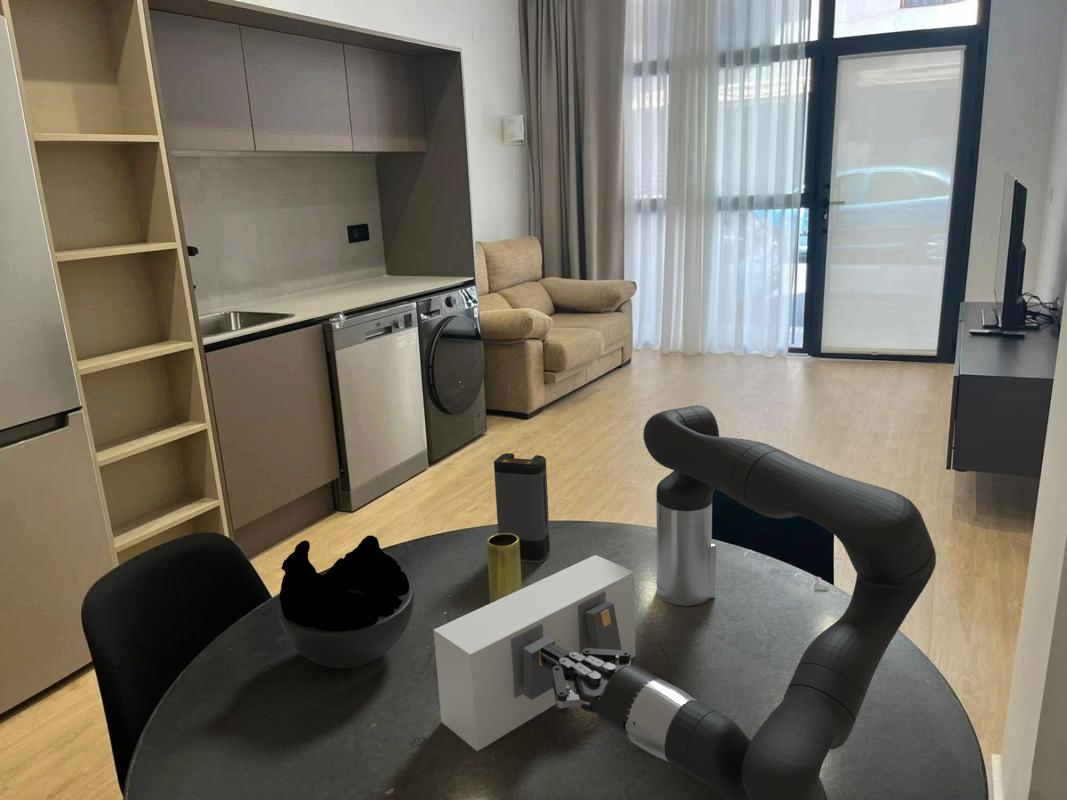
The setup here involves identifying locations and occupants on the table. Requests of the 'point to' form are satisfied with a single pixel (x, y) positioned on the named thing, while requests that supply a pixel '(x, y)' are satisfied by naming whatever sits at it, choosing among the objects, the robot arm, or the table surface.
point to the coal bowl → (345, 605)
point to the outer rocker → (536, 669)
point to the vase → (503, 565)
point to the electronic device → (523, 504)
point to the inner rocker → (603, 627)
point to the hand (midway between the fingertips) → (544, 652)
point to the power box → (522, 646)
